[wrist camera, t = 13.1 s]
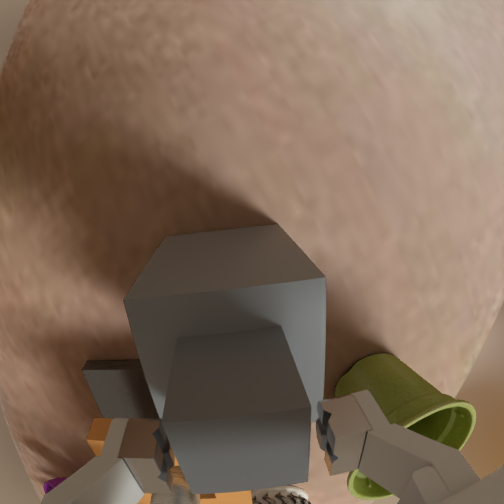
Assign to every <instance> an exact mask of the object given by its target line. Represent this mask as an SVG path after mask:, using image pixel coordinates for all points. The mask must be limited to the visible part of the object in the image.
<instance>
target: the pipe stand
mask: <svg viewBox="0 0 504 504" xmlns="http://www.w3.org/2000/svg"><path fill="white" fill-rule="evenodd" d="M82 371H83V373H84V376H85V378H86V381H87V383H88V385H89V388H90V390H91V392H92V394H93V397H94V399H95V401H96V403H97V405H98V407H99V410H100V412H101V414H102V416H103V418H108V419H114V418H150V419H160V418H159V415H158V412H157V409H156V407H155V404H154V401H153V398H152V395H151V393H150V390H149V387H148V384H147V381H146V378H145V375H144V372H143V368H142V365H141V362H140V359H136V360H103V361H87V362H86V364H85V366H84V367H83V369H82ZM170 470H171V472H172V474H173V487H172V493H152V494H151V502H150V504H200V494H192V492H191V490H190V488H189V486H188V484H187V482H186V479H185V477H184V475H183V473H182V471H181V468H180V466H173V467H172V468H171V469H170Z"/></svg>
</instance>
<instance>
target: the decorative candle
mask: <svg viewBox="0 0 504 504" xmlns="http://www.w3.org/2000/svg"><path fill="white" fill-rule="evenodd" d="M251 495H252V503H253V504H311V503H310V502H309V501H307V500H308V494H307V493H306V492H305V491H304V489H301V488H298V487H295V486H287V485H286V486H280V487H273V488H266V489H258V490H251Z"/></svg>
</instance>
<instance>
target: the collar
mask: <svg viewBox="0 0 504 504" xmlns="http://www.w3.org/2000/svg"><path fill="white" fill-rule="evenodd" d="M112 420H113V419H108V418H94V420H93V423H92V425H91V428H90V430H89V433H88V436H87V438H86V440H87V442H88V444H89V445H90V447H91V449H92V450H93V452H94V453H95V455H96V456H99V457H100V455H101V452H102V449H103V445H104V442H105V439H106V436H107V433H108V430H109V427H110V424H111V421H112ZM174 466H179V464H178V462H177V459H176V457H175V465H174ZM144 494H145V495H144V496H143V497H142V498H141V500H140V501H139V502H138V503H137V504H150V502H151V494H152V493H144ZM200 504H253V503H252V495H251V490H249V491H239V492H227V493H211V494H200Z"/></svg>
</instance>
